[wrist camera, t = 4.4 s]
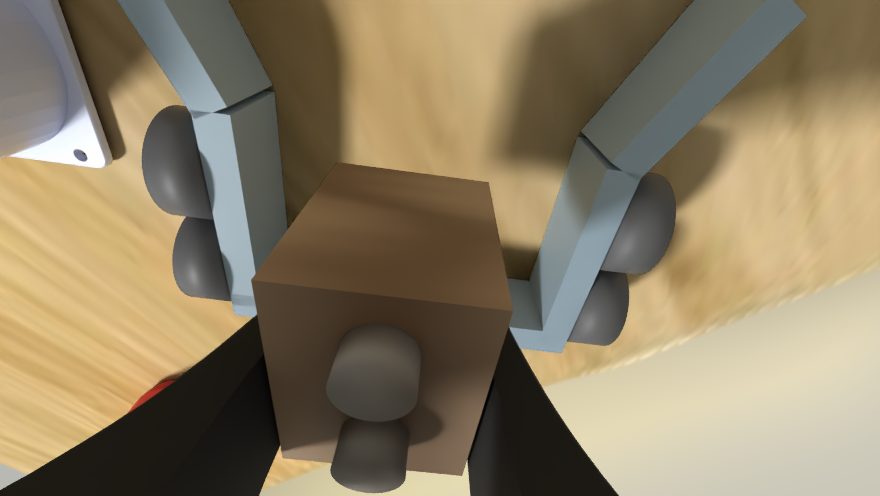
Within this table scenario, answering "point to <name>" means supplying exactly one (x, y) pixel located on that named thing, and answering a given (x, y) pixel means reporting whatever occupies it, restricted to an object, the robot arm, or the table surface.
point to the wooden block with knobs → (384, 324)
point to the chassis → (577, 205)
